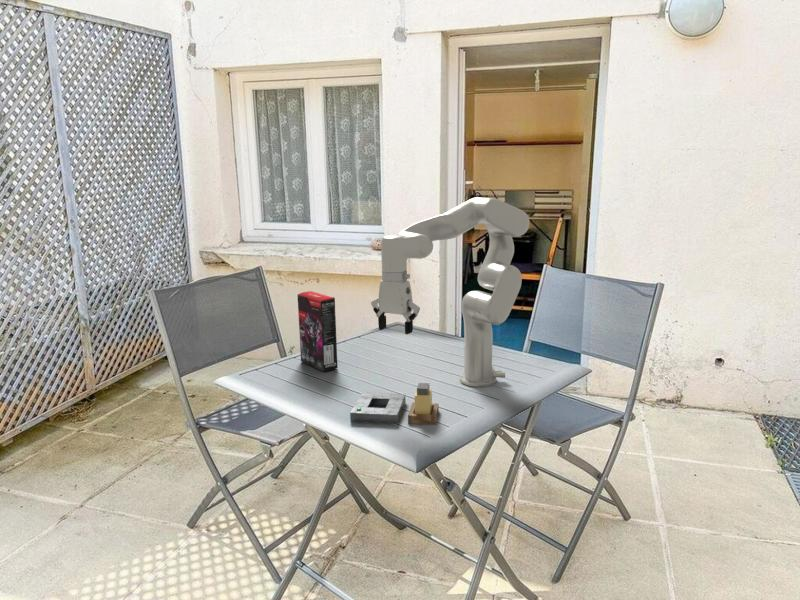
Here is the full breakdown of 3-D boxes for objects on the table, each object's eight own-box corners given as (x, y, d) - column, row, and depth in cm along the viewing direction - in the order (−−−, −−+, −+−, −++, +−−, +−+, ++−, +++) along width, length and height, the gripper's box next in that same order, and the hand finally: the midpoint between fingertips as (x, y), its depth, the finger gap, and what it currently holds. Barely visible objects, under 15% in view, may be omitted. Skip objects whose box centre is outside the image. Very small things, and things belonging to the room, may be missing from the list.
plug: (432, 413, 182) (431, 382, 179) (429, 421, 176) (429, 389, 173) (417, 412, 182) (417, 381, 180) (415, 421, 176) (414, 389, 174)
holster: (438, 411, 183) (438, 403, 182) (435, 424, 174) (435, 416, 173) (412, 410, 184) (412, 402, 184) (408, 423, 175) (407, 415, 174)
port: (405, 402, 190) (405, 392, 189) (397, 424, 174) (397, 413, 174) (362, 401, 192) (362, 391, 191) (350, 422, 177) (350, 411, 176)
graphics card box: (299, 362, 231) (295, 293, 225) (315, 358, 235) (311, 290, 229) (323, 373, 218) (320, 300, 212) (339, 368, 222) (336, 297, 216)
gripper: (425, 277, 179) (425, 332, 183) (378, 272, 189) (379, 324, 192) (412, 281, 173) (412, 338, 177) (364, 276, 182) (365, 330, 186)
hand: (395, 331), depth 185 cm, fingers open, 9 cm apart
